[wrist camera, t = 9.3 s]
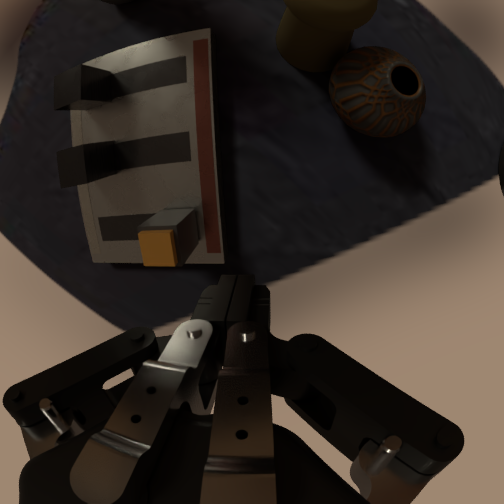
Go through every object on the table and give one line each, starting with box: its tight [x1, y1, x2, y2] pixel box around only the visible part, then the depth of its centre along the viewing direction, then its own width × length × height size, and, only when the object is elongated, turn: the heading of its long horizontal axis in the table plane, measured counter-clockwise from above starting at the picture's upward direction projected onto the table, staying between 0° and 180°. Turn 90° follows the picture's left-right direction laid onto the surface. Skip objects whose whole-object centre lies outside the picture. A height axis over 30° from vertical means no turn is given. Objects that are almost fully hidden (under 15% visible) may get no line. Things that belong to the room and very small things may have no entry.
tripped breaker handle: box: [137, 208, 199, 267], centre depth 20 cm, size 3×3×5 cm
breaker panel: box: [54, 28, 228, 264], centre depth 20 cm, size 14×20×6 cm
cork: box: [276, 0, 378, 72], centre depth 13 cm, size 6×6×11 cm
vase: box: [329, 46, 426, 138], centre depth 15 cm, size 7×7×9 cm
